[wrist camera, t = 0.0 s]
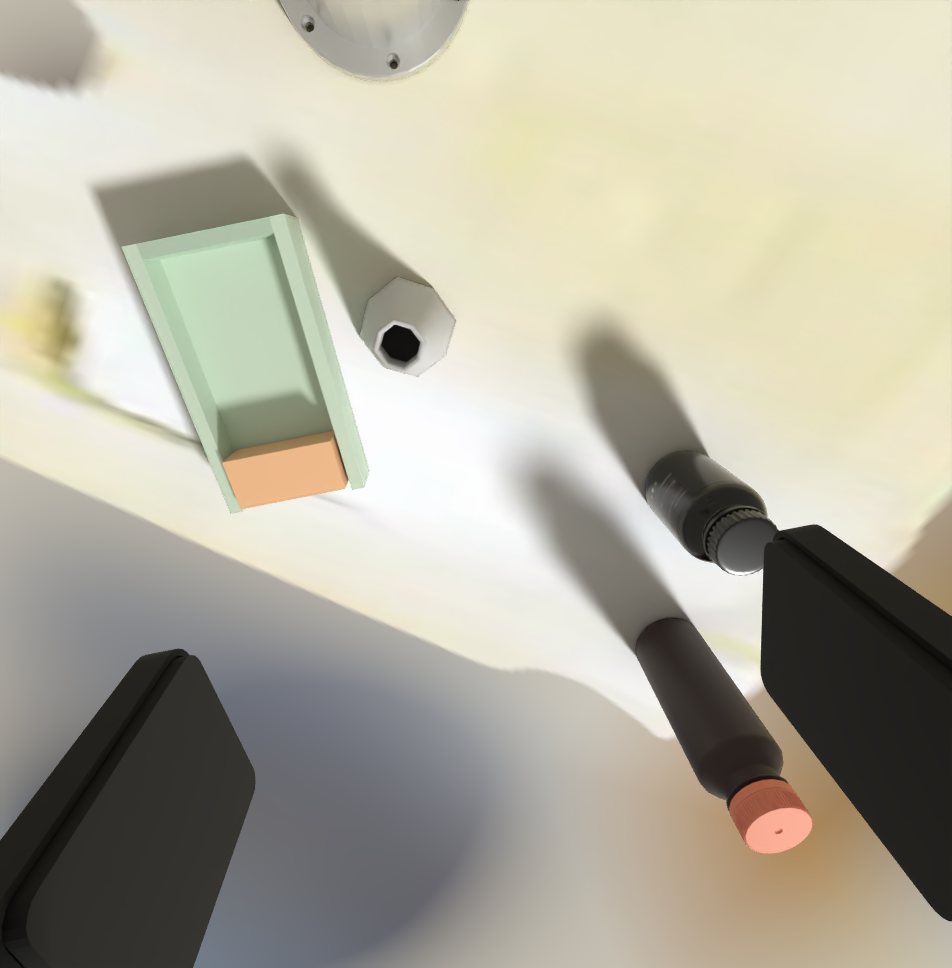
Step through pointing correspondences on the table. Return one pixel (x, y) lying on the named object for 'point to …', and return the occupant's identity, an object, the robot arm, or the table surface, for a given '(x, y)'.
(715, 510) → the supplement bottle
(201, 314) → the pale green shallow box
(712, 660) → the vinegar
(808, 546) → the robot arm
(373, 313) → the flask
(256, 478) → the block
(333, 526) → the table surface
